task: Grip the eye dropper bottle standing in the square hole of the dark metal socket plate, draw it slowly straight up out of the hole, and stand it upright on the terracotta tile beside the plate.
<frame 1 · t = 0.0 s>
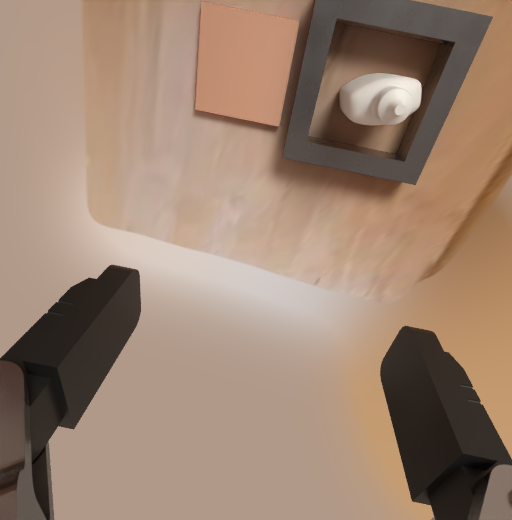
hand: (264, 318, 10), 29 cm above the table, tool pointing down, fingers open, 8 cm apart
socket plate: (367, 93, 32), on the table
eye dropper bottle: (367, 93, 32), resting in socket plate
terracotta tile: (244, 68, 32), on the table
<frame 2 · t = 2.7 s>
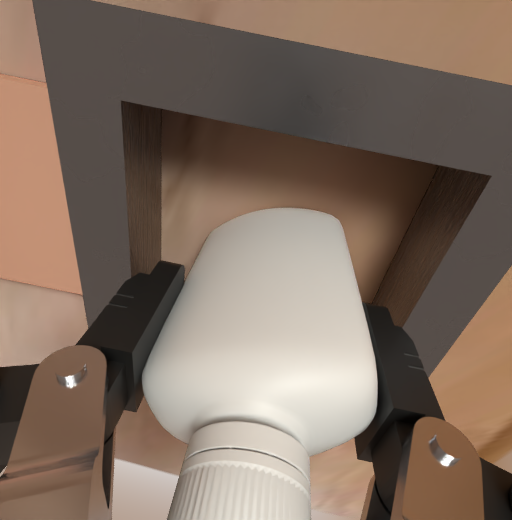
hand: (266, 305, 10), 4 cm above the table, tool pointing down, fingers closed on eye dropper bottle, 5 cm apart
socket plate: (275, 243, 14), on the table
eye dropper bottle: (275, 241, 14), resting in socket plate, touching gripper
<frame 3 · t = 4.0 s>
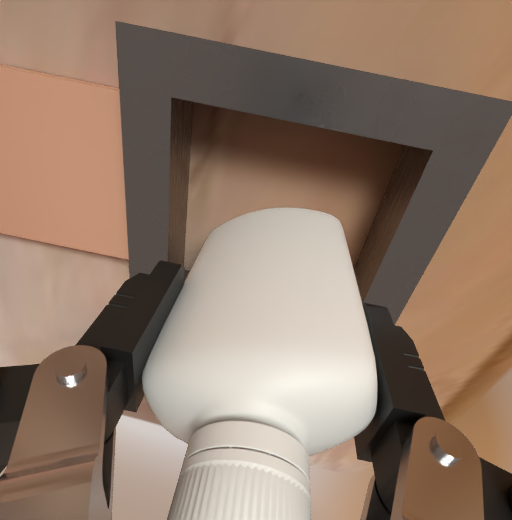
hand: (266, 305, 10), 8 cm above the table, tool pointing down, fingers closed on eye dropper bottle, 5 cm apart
socket plate: (278, 213, 17), on the table
eye dropper bottle: (275, 241, 14), point 4 cm above the table, touching gripper
terracotta tile: (51, 166, 17), on the table
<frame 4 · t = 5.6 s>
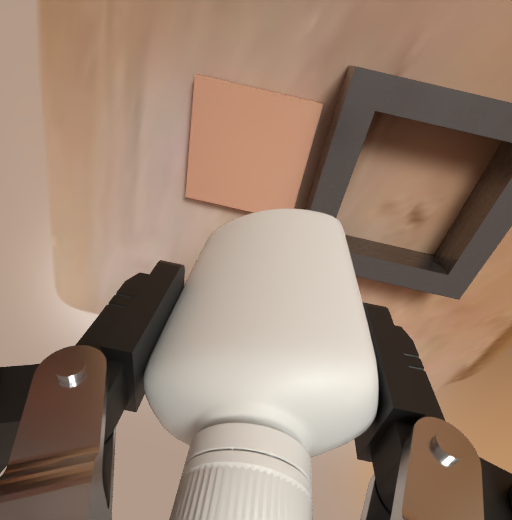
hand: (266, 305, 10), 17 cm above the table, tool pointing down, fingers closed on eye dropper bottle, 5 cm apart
socket plate: (404, 188, 25), on the table
eye dropper bottle: (276, 241, 14), point 13 cm above the table, touching gripper
terracotta tile: (248, 152, 25), on the table
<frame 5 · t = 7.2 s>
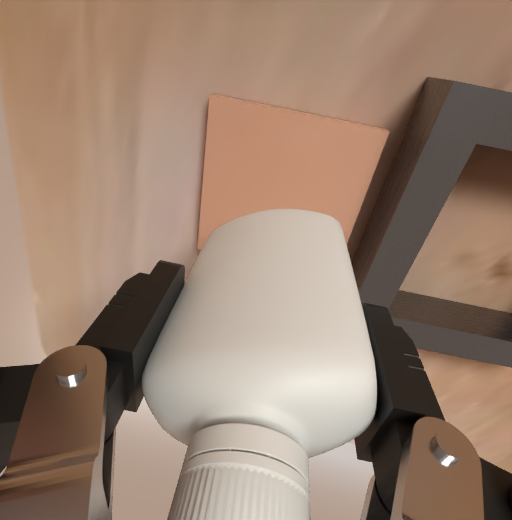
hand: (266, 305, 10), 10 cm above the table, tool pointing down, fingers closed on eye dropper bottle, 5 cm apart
socket plate: (489, 236, 19), on the table
eye dropper bottle: (275, 242, 14), point 6 cm above the table, touching gripper
terracotta tile: (280, 193, 19), on the table
when the fingers open (6 cm above the table, at t = 8.4 s): eye dropper bottle drops 1 cm, resting on terracotta tile.
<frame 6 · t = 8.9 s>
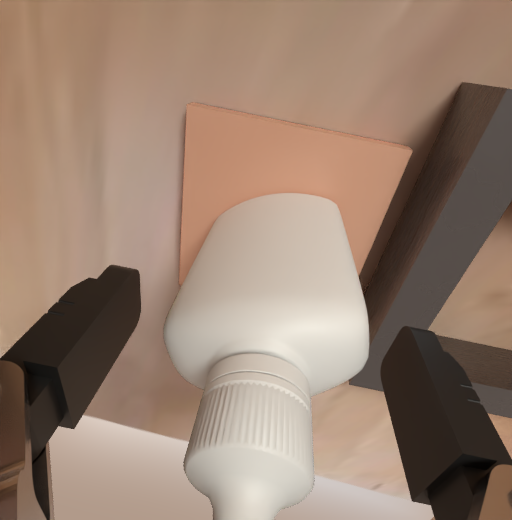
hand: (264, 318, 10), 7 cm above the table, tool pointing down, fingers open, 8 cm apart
eye dropper bottle: (277, 225, 15), point 1 cm above the table, touching terracotta tile
terracotta tile: (277, 221, 16), on the table
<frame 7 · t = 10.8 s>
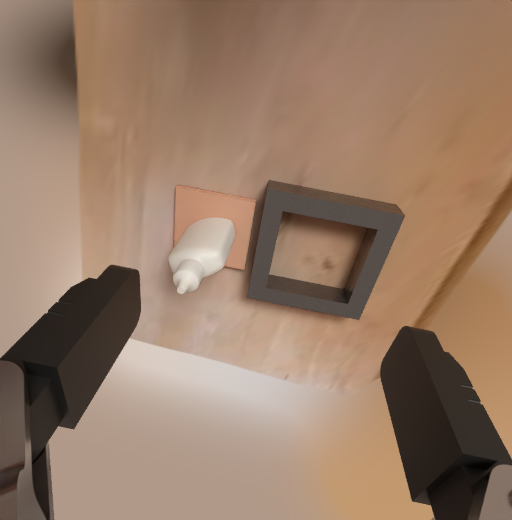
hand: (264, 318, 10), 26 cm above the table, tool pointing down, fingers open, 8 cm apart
socket plate: (316, 248, 38), on the table
eye dropper bottle: (212, 229, 38), point 1 cm above the table, touching terracotta tile
terracotta tile: (213, 228, 38), on the table
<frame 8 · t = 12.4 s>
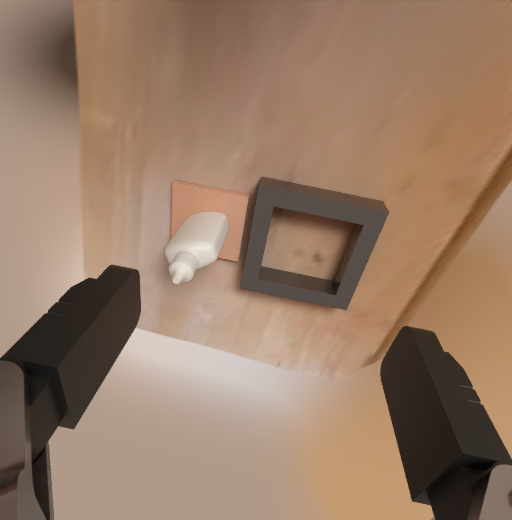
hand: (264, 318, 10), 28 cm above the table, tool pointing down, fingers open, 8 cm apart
socket plate: (306, 241, 40), on the table
eye dropper bottle: (208, 223, 39), point 1 cm above the table, touching terracotta tile
terracotta tile: (208, 221, 40), on the table
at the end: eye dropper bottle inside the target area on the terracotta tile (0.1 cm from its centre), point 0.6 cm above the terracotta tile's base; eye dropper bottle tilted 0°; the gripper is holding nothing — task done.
